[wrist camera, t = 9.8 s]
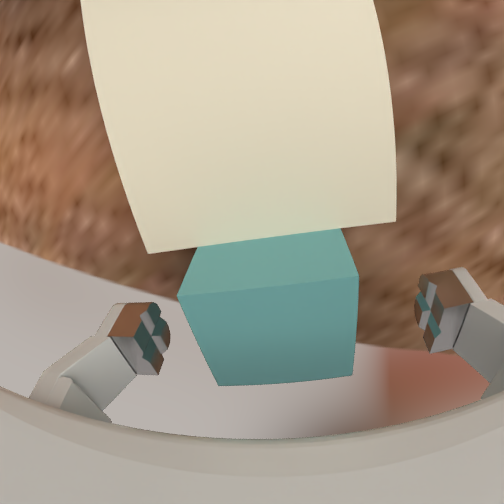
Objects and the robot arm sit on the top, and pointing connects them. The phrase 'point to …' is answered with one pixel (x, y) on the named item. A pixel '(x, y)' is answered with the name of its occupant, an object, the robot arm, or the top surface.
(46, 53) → the top surface
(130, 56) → the cream and teal block
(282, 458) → the robot arm
